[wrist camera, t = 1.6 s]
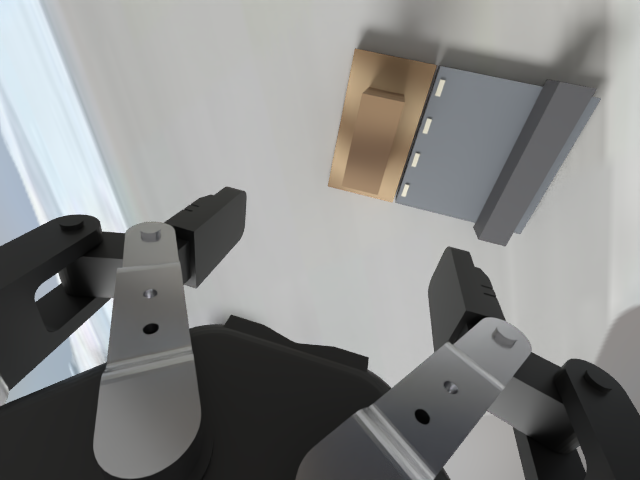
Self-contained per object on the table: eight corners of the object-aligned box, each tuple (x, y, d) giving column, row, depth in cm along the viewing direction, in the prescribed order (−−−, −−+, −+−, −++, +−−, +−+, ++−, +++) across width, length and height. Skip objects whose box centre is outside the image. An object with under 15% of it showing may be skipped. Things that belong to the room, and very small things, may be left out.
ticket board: (441, 58, 26) (446, 58, 23) (596, 89, 24) (624, 94, 21) (394, 202, 32) (393, 217, 29) (513, 232, 31) (526, 251, 28)
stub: (356, 48, 26) (344, 46, 21) (435, 64, 26) (444, 67, 20) (330, 182, 33) (315, 207, 27) (392, 197, 32) (390, 227, 27)
